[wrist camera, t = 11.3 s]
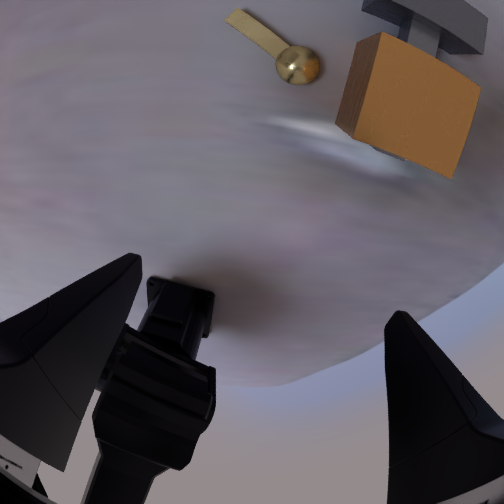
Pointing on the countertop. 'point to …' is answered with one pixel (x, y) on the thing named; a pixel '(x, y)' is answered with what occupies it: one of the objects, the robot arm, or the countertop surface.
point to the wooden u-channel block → (407, 103)
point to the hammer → (433, 26)
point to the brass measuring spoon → (278, 49)
